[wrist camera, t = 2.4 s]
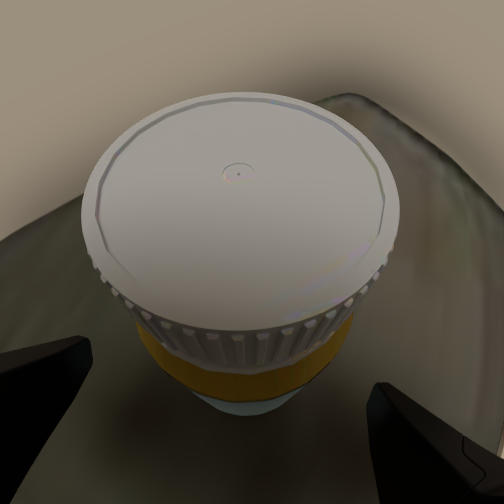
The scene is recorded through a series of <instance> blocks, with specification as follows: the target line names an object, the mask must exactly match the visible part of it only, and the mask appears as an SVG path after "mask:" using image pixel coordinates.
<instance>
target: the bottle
mask: <svg viewBox="0 0 504 504" xmlns="http://www.w3.org/2000/svg"><path fill="white" fill-rule="evenodd" d="M81 219H82V229H83V235H84V239H85V242H86V245H87V251H88V255H89V256H90V258H91V259H92V260H93V266H94V268H95V270H96V271H97V272H98V274H99V275H100V276H101V280H102V281H103V283H104V284H105V285H106V286H107V288H108V289H109V290H110V291H111V292H112V294H113V295H114V296H115V297H116V298H117V299H118V301H119V302H120V303H121V304H122V305H123V307H124V308H125V309H126V310H127V311H128V312H129V313H130V315H131V316H132V317H133V318H134V319H135V321H136V325H137V329H138V333H139V335H140V338H141V340H142V342H143V343H144V345H145V346H146V348H147V349H148V351H149V352H150V354H151V355H152V357H153V358H154V359H155V361H156V362H157V364H158V365H159V366H160V367H161V368H162V369H163V370H164V371H165V372H166V373H167V374H168V375H169V376H171V377H172V378H173V379H175V380H176V381H177V382H179V383H180V384H181V385H183V386H184V387H186V388H187V389H188V390H190V391H191V392H193V393H194V394H195V395H197V396H198V397H200V398H201V399H203V400H204V401H206V402H207V403H209V404H210V405H212V406H213V407H215V408H217V409H218V410H220V411H223V412H226V413H230V414H234V415H240V416H248V415H259V414H263V413H266V412H268V411H271V410H273V409H276V408H278V407H279V406H281V405H282V404H284V403H285V402H286V401H287V400H289V399H290V398H291V397H292V396H293V395H295V394H296V393H297V392H298V391H299V390H301V389H302V388H303V387H304V386H305V385H307V384H308V383H309V382H310V381H311V380H312V379H313V378H314V377H316V376H317V375H318V374H319V373H320V372H321V371H322V370H323V369H324V368H325V367H326V366H327V365H328V364H329V363H330V362H331V360H332V359H333V358H334V357H335V355H336V354H337V353H338V351H339V350H340V348H341V346H342V344H343V342H344V339H345V337H346V335H347V333H348V331H349V329H350V327H351V323H352V320H353V311H354V310H355V308H356V307H357V306H358V304H359V303H360V302H361V300H362V299H363V298H364V296H365V295H366V294H367V292H368V291H369V290H370V288H371V287H372V285H373V284H374V283H375V281H376V280H377V278H378V277H379V275H380V273H381V272H382V270H383V269H384V268H385V266H386V264H387V262H388V257H389V256H390V254H391V253H392V251H393V248H394V246H393V242H394V240H395V239H396V236H397V229H398V223H399V197H398V192H397V187H396V184H395V181H394V178H393V175H392V173H391V171H390V169H389V167H388V165H387V163H386V162H385V160H384V158H383V157H382V155H381V154H380V153H379V151H378V150H377V149H376V148H375V146H374V145H373V144H372V143H371V142H370V141H369V140H368V139H367V138H366V137H365V136H364V135H363V134H362V133H361V132H360V131H358V130H357V129H356V128H355V127H353V126H352V125H351V124H349V123H348V122H346V121H345V120H343V119H342V118H340V117H338V116H337V115H335V114H333V113H331V112H329V111H327V110H325V109H323V108H320V107H318V106H316V105H313V104H310V103H308V102H304V101H301V100H298V99H294V98H290V97H286V96H281V95H275V94H267V93H257V92H256V93H255V92H230V93H219V94H212V95H206V96H201V97H196V98H193V99H189V100H185V101H182V102H179V103H176V104H174V105H171V106H168V107H166V108H164V109H161V110H159V111H157V112H155V113H153V114H151V115H149V116H148V117H146V118H144V119H142V120H141V121H139V122H138V123H136V124H135V125H134V126H132V127H131V128H129V129H128V130H127V131H126V132H124V133H123V134H122V135H121V136H120V137H119V138H118V139H117V140H116V141H115V142H114V143H113V144H112V145H111V146H110V147H109V148H108V149H107V151H106V152H105V153H104V154H103V156H102V157H101V158H100V160H99V161H98V163H97V165H96V166H95V168H94V170H93V172H92V174H91V176H90V178H89V180H88V183H87V186H86V189H85V192H84V197H83V202H82V213H81Z"/></svg>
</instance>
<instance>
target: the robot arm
mask: <svg viewBox="0 0 504 504" xmlns="http://www.w3.org/2000/svg"><path fill="white" fill-rule="evenodd" d="M92 364H93V357H92V350H91V343H90V340H89V339H88V338H86V337H83V336H80V335H77V336H73V337H69V338H65V339H61V340H56V341H52V342H48V343H44V344H39V345H35V346H31V347H26V348H22V349H18V350H13V351H9V352H4V353H0V504H10V502H11V500H12V499H13V497H14V495H15V493H16V492H17V490H18V489H17V488H19V486H20V484H21V483H22V481H23V479H24V478H25V476H26V474H27V473H28V471H29V469H30V468H31V466H32V464H33V463H34V461H35V459H36V458H37V456H38V454H39V453H40V451H41V450H42V448H43V446H44V445H45V443H46V442H47V440H48V439H49V437H50V435H51V434H52V432H53V431H54V429H55V428H56V426H57V425H58V423H59V422H60V420H61V418H62V417H63V415H64V414H65V412H66V411H67V409H68V408H69V406H70V405H71V403H72V402H73V400H74V399H75V397H76V395H77V393H78V391H79V389H80V387H81V386H82V384H83V382H84V380H85V378H86V376H87V374H88V372H89V371H90V369H91V367H92ZM366 412H367V422H368V434H369V446H370V453H371V458H372V463H373V469H374V474H375V479H376V484H377V490H378V496H379V501H380V504H504V459H503V458H501V457H499V456H497V455H495V454H493V453H491V452H490V451H488V450H486V449H484V448H483V447H481V446H480V445H478V444H476V443H475V442H473V441H472V440H470V439H469V438H467V437H466V436H463V434H461V433H460V432H458V431H457V430H456V429H454V428H453V427H451V426H450V425H448V424H447V423H445V422H444V421H442V420H441V419H439V418H438V417H437V416H435V415H434V414H432V413H431V412H429V411H428V410H426V409H425V408H424V407H422V406H421V405H419V404H418V403H416V402H415V401H414V400H412V399H411V398H409V397H408V396H406V395H405V394H404V393H402V392H401V391H399V390H398V389H397V388H395V387H394V386H392V385H391V384H390V383H387V382H377V383H376V384H375V385H374V387H373V389H372V392H371V394H370V397H369V400H368V402H367V407H366Z"/></svg>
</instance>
